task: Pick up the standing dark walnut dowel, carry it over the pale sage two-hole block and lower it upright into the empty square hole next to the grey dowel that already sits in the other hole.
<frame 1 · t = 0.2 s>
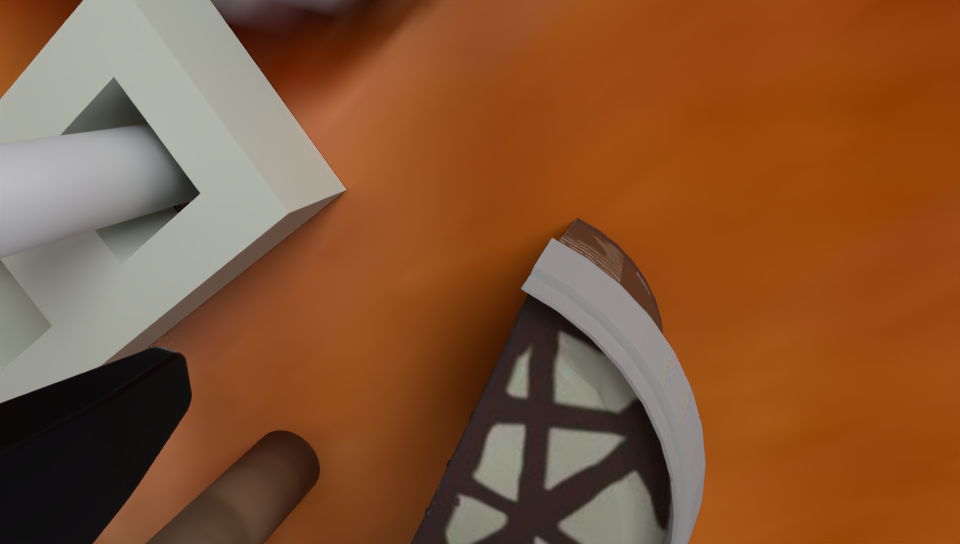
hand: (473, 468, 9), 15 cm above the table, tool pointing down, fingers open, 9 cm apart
walnut peg: (288, 461, 30), on the table
hole block: (128, 220, 29), on the table
food container: (600, 368, 25), on the table
grey peg: (195, 157, 27), resting in hole block
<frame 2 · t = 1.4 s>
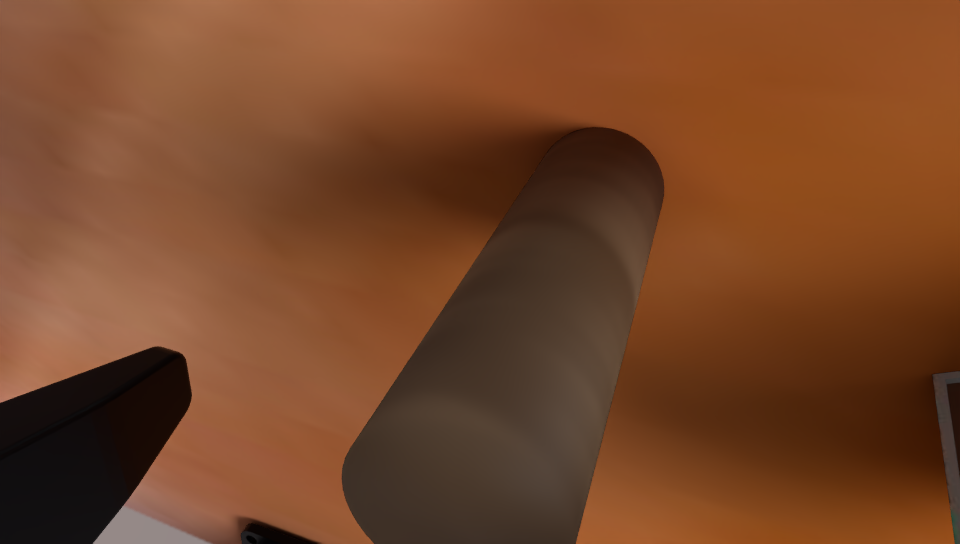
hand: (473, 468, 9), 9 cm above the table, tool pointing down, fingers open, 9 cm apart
walnut peg: (599, 188, 17), on the table
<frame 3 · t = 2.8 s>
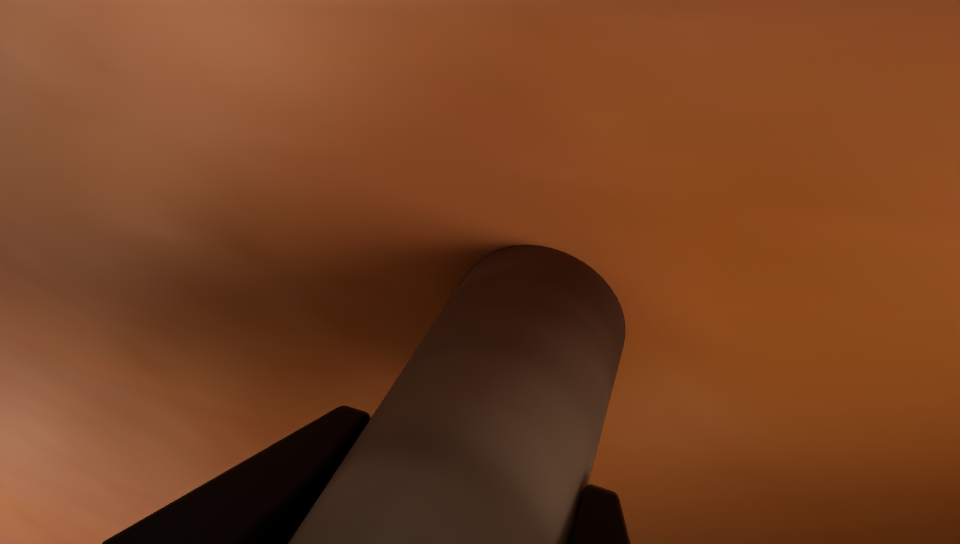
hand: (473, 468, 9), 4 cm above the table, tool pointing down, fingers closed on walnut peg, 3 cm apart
walnut peg: (538, 321, 12), on the table, touching gripper
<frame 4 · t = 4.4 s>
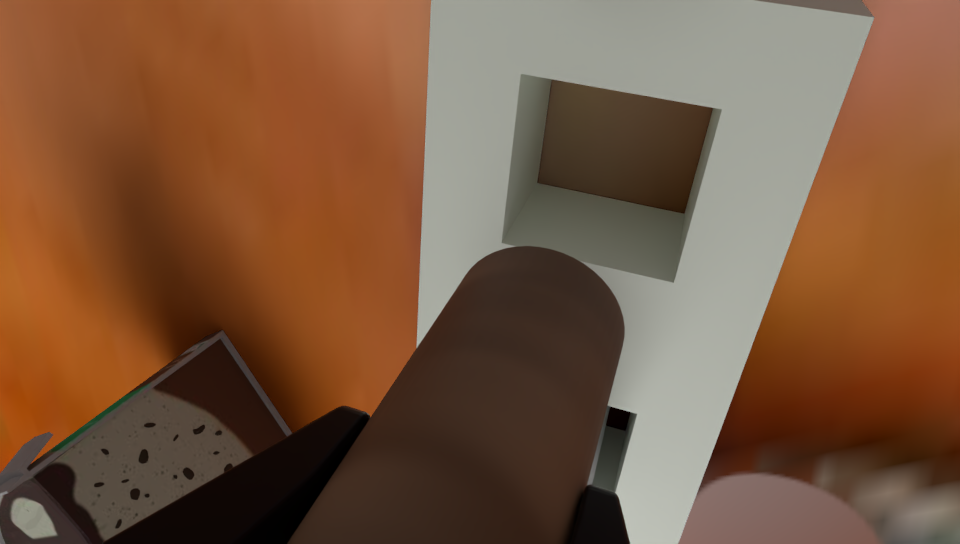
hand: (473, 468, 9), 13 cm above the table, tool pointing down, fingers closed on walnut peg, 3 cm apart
walnut peg: (537, 322, 12), point 10 cm above the table, touching gripper
hole block: (596, 260, 23), on the table
food container: (234, 420, 33), on the table
grey peg: (574, 367, 25), resting in hole block
when the fingers open (5 cm above the table, at t = 6.5 s): walnut peg drops 1 cm, resting in hole block.
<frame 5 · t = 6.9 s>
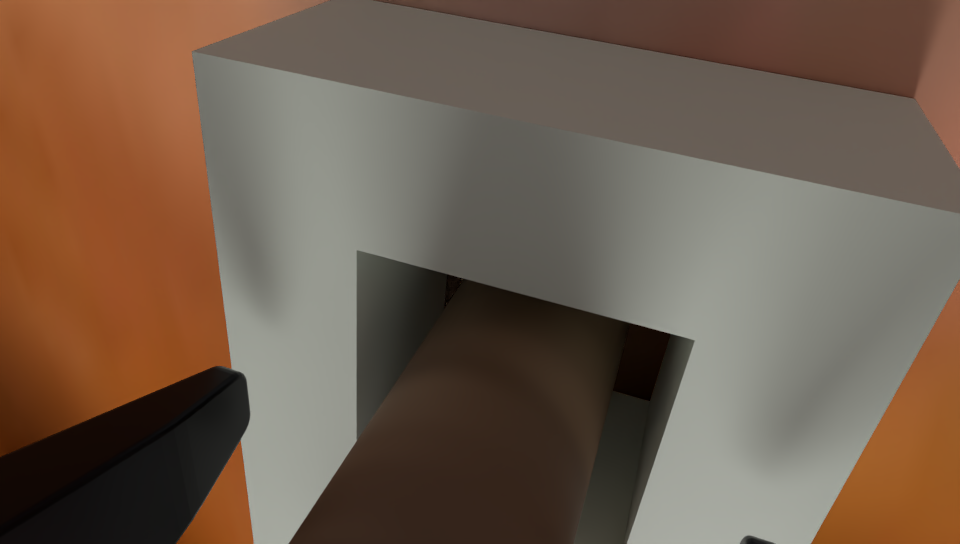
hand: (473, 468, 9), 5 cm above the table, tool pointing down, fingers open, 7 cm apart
walnut peg: (558, 279, 13), resting in hole block
hole block: (527, 445, 16), on the table
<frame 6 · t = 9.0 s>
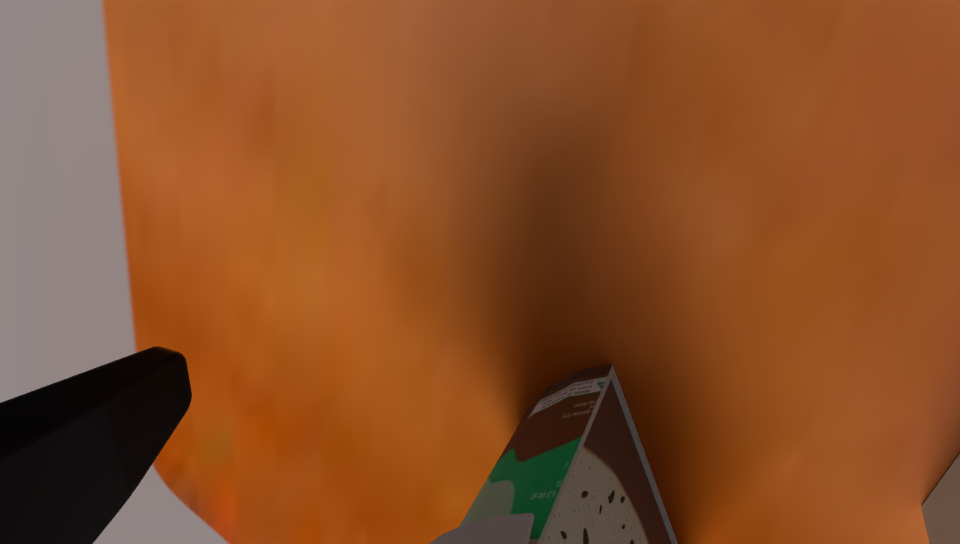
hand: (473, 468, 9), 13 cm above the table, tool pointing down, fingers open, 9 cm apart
food container: (572, 471, 27), on the table
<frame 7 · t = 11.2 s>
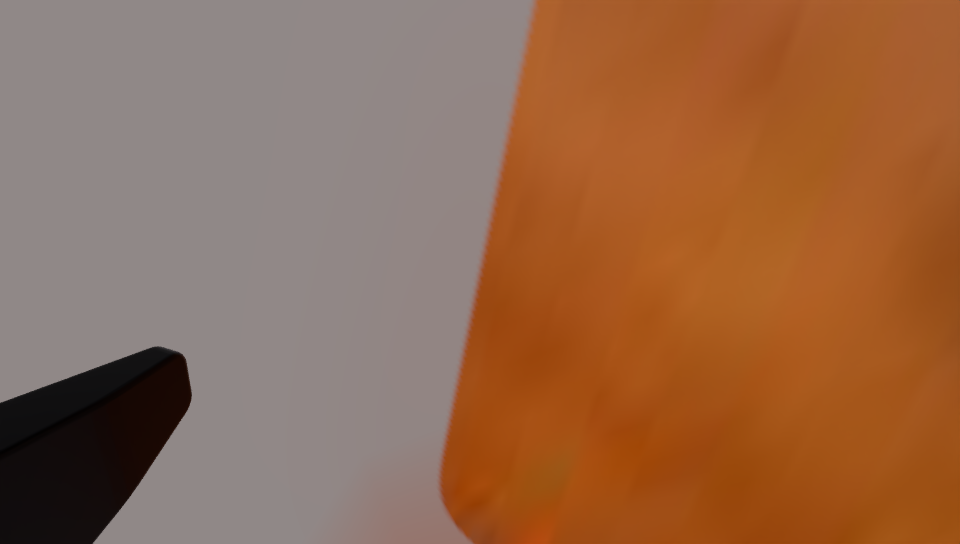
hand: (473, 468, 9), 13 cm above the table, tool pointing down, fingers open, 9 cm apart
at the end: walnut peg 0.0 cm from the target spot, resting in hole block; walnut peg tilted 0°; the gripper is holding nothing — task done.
